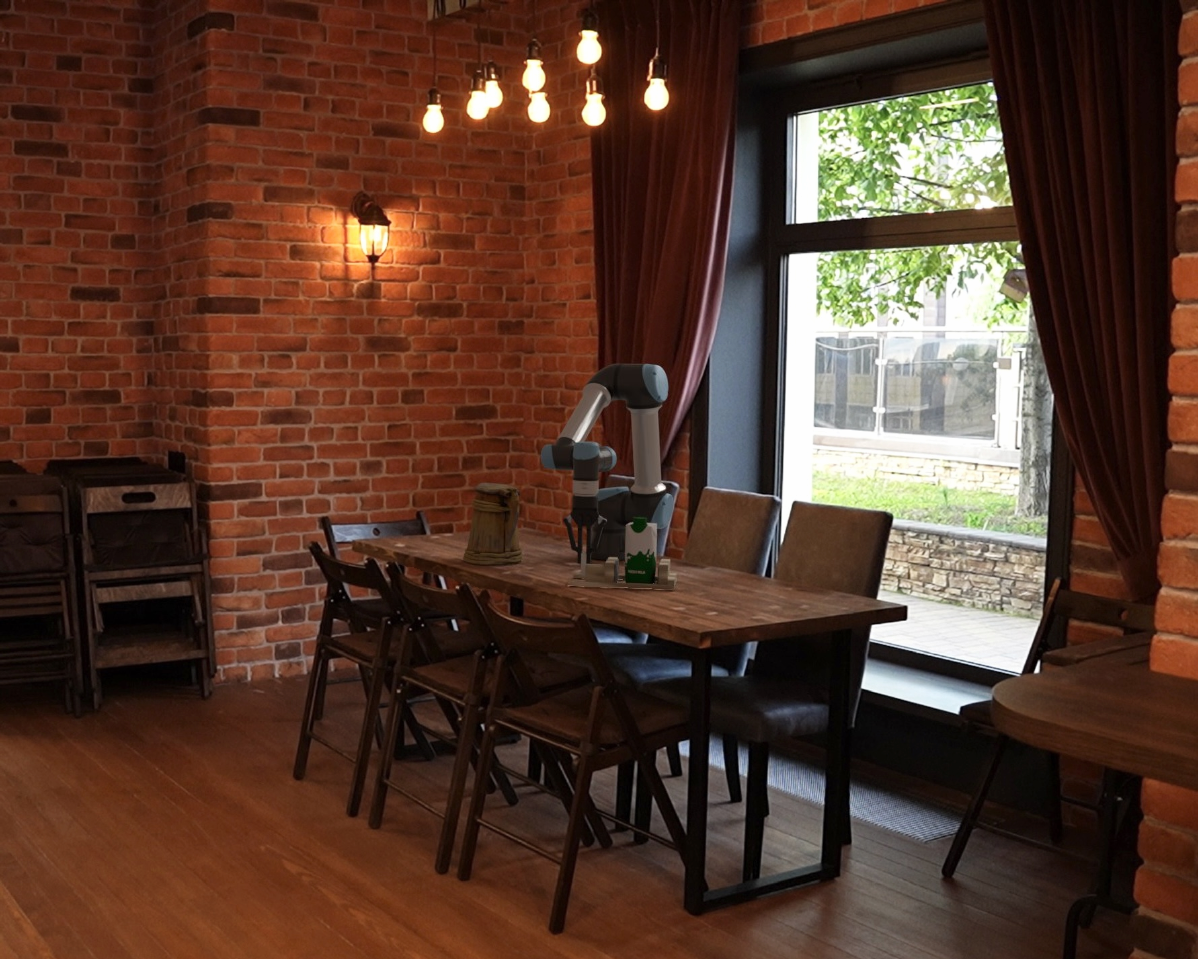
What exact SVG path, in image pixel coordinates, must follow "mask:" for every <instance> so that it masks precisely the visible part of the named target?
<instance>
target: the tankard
mask: <svg viewBox="0 0 1198 959" xmlns="http://www.w3.org/2000/svg"><path fill="white" fill-rule="evenodd" d="M474 489H475V490H476V493H475V497H474V498H473V499H472V500H473V501H472V505H471V506H472V509H473V511H472V518H471V523H470V528H469V529H470V530H469V534H468V541H467V547H466V549H465V550H464V553H463V557H462V560H463V561H464V562H467V563H469V564H474V565H478V566H479V565H481V566H490V565H504V566H510V565H509V564H513V565H515V564H514V563H517V564H520V563H521V562H522V561H523V553H522V549H521V547H520V538H519V528H518V523H519V522H518V521H519V518H520V507H521V506H520V497H519V496H521V494H522V493H521V490H518V488H517V487H514V486H511V485H508V484H503V483H494V482H491V483H490V482H481V483H479V484H477V485H476V486H475V488H474ZM519 562H520V563H519Z"/></svg>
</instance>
